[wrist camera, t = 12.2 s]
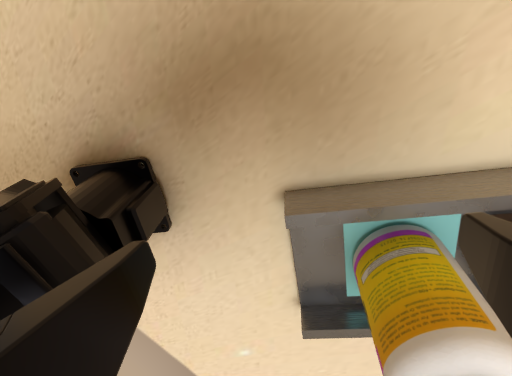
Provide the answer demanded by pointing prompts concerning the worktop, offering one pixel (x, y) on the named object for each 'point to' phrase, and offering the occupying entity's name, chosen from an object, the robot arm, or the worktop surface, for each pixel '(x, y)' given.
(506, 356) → the supplement bottle
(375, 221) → the shallow metal tray
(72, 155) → the worktop surface
